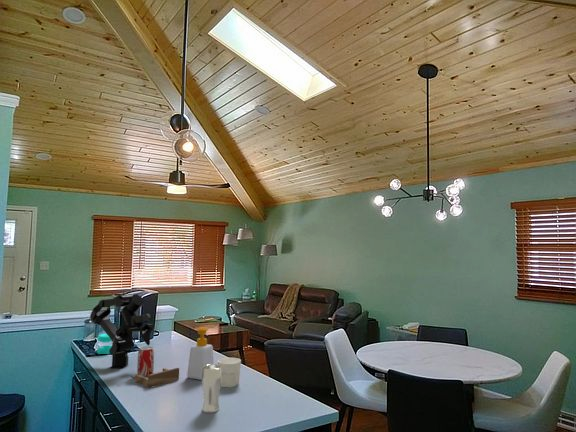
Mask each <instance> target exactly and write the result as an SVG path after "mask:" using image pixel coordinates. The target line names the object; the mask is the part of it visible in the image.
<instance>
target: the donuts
mask: <svg viewBox="0 0 576 432" xmlns="http://www.w3.org/2000/svg"><path fill="white" fill-rule="evenodd" d="M96 339H97V341H98V342H100V343H111V342H112V343H113V341H112V340H111V339H110V337H109V336H108V335H107V333H101V334H98V336H97V338H96ZM111 347H112V344H111V345H110V344H109V345H107V344H106V345H101V346H99V347H98V348H97V349H96V353H97V354H98V355H100V354H107V355H110V353H109V350H110V348H111Z"/></svg>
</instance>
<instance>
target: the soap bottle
mask: <svg viewBox="0 0 576 432" xmlns="http://www.w3.org/2000/svg"><path fill="white" fill-rule="evenodd" d="M214 328H215V326H208V327H206V326H200V327H198V328H196V331H197V334H198V335H200V337H199V338H198V337H197V339H196V344H194V345H192V346H191V347H190V351H189V358H188V365H187V371H186V376H187V378H189V379H194V380H200V381H202V372H203V366H205V365H210V364H215V359H214V346H213V345H212V344H208V338H206V337H205V334H207V331H209V329H214Z"/></svg>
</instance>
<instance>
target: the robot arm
mask: <svg viewBox="0 0 576 432" xmlns="http://www.w3.org/2000/svg"><path fill="white" fill-rule="evenodd" d="M144 304H145V299H144V298H143V297H142V296H141V295H139V294H138V293H134V294H129V293H128V294H118V295H116V296H115V297H113V298H109V299H108V298H107V299H101V300H99V301H98V303H97V305H95V306H94V307H93V309H91V313H90V315H89V319H90V320H91V321H92V323H93V324H95V325H98V326H100V327H101V328H102V330H103V331H104V332H105V334H107V335H108V336H109V337H110V339H111V340H112V344H111V346H112V347H111V348H110V350H109V353H110V354H109V355H110V356H112V358H111V359H112V360H111V366H110V369H124V368H126V367H127V366H128V365H129V355H128V353H131V351H132V349H133V347H135V341H134V339H133V335H132V333H137V332H139V333H140V336H141V338H142V340H143V341H144V343H145V344H146V346H150V345H151V343H150V342H151V332H152V331H154V329H155V326H154V324H153V323H149V321H150V320H151V319H152V318H151V315H150V313H146V314H141V315H140V314H139V315H137V312H138V311H139V310H140V308H141V307H143V305H144ZM114 306H115V307H118V308H121V309H120V313H119V315H122V316H123V319H124V322H123V324H122V325H121V326H120V327H118V328H117V327H116V326H115V324H114V323H113V322H112V321H111V320H110V315H111V312H112V311H111V307H114ZM122 307H123V308H122ZM103 308H105V309H103ZM144 323H146V324H144Z"/></svg>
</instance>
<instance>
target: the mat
mask: <svg viewBox="0 0 576 432" xmlns="http://www.w3.org/2000/svg"><path fill="white" fill-rule="evenodd" d="M153 374H154V372H153ZM136 375H138V374H137V373H135V374H131V375H130V377H131V378H134V379H136ZM146 378H148V376H147V377H146Z"/></svg>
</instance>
